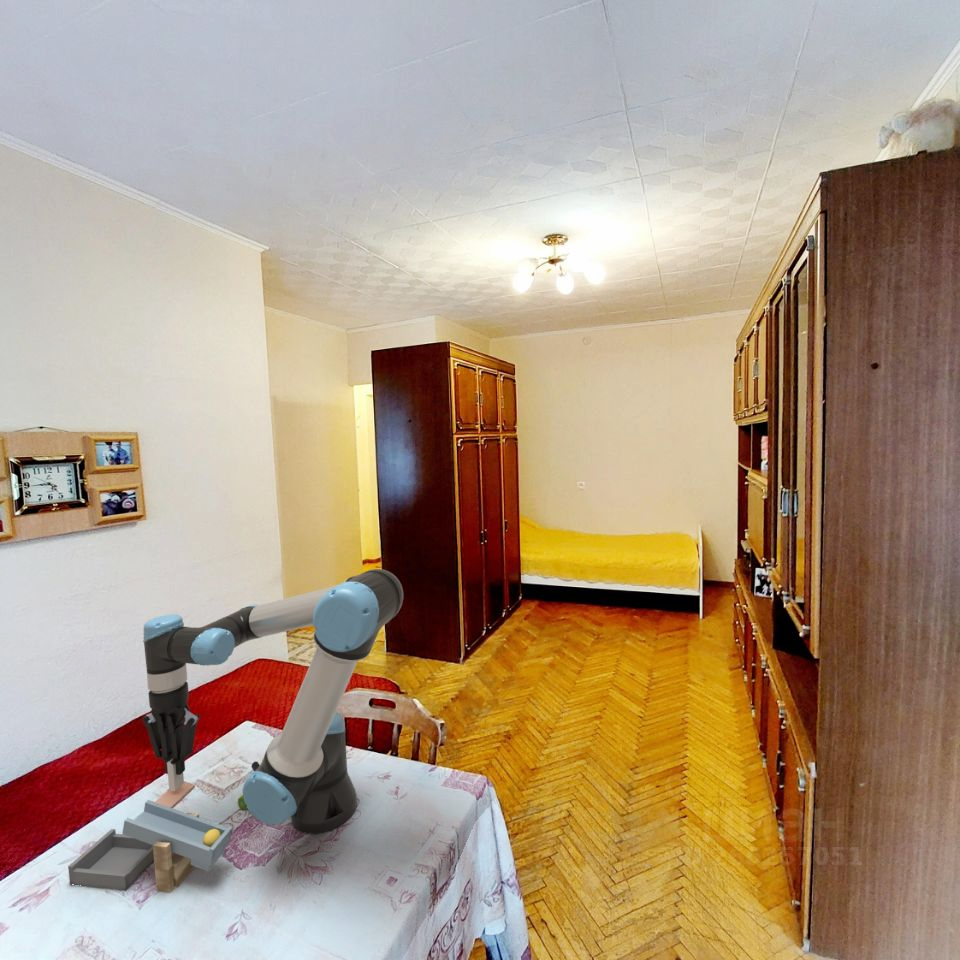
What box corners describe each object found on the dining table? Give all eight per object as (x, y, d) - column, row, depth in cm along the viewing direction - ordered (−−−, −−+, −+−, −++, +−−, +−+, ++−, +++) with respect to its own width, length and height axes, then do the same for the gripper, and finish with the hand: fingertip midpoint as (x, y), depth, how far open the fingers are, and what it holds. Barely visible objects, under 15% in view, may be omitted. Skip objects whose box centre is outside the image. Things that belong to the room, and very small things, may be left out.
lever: (255, 816, 114) (259, 795, 113) (207, 875, 98) (212, 851, 98) (178, 790, 117) (181, 769, 116) (119, 843, 101) (123, 819, 101)
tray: (164, 850, 109) (163, 833, 109) (126, 890, 99) (124, 871, 99) (113, 846, 111) (111, 829, 111) (70, 885, 101) (68, 866, 101)
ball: (221, 842, 103) (226, 829, 103) (211, 854, 100) (215, 841, 100) (208, 835, 103) (212, 822, 103) (197, 848, 100) (201, 834, 100)
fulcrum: (204, 856, 107) (200, 813, 107) (172, 892, 98) (168, 847, 98) (187, 854, 108) (184, 812, 107) (154, 891, 99) (150, 845, 99)
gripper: (206, 678, 114) (213, 777, 116) (155, 677, 116) (164, 774, 118) (181, 694, 107) (190, 800, 108) (128, 692, 109) (137, 796, 110)
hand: (176, 786), depth 113 cm, fingers closed
